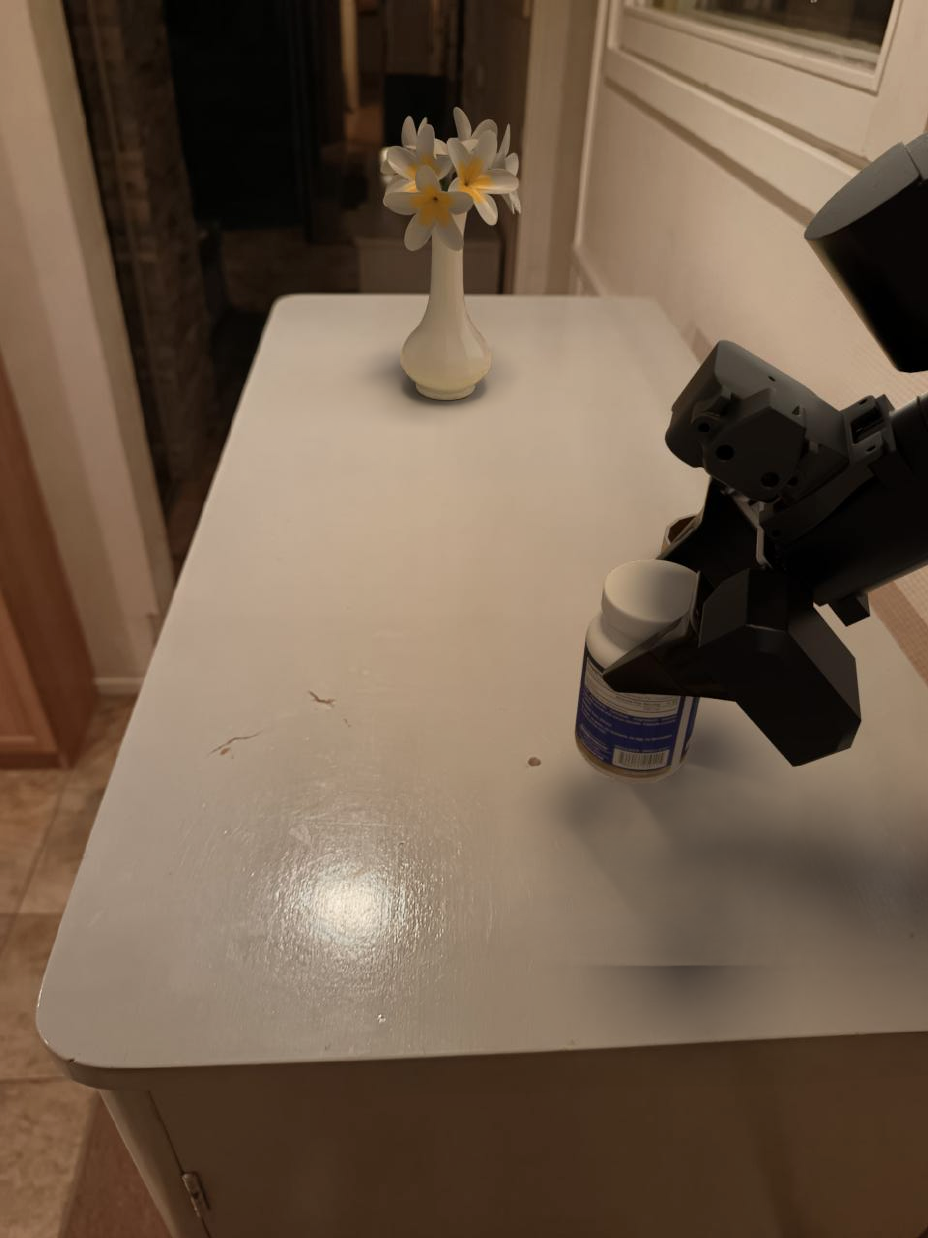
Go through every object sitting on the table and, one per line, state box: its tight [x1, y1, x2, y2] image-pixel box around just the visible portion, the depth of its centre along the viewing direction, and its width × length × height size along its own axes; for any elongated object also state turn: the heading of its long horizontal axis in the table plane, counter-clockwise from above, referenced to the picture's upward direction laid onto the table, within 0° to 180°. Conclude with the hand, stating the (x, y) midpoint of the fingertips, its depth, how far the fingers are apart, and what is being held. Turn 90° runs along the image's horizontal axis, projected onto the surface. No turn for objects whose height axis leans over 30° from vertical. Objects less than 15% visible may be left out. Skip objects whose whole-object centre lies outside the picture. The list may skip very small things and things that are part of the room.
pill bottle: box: [574, 558, 701, 784], centre depth 42 cm, size 6×6×10 cm
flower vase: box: [380, 106, 522, 401], centre depth 84 cm, size 13×18×25 cm
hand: (618, 640), depth 41 cm, fingers closed on pill bottle, 6 cm apart
